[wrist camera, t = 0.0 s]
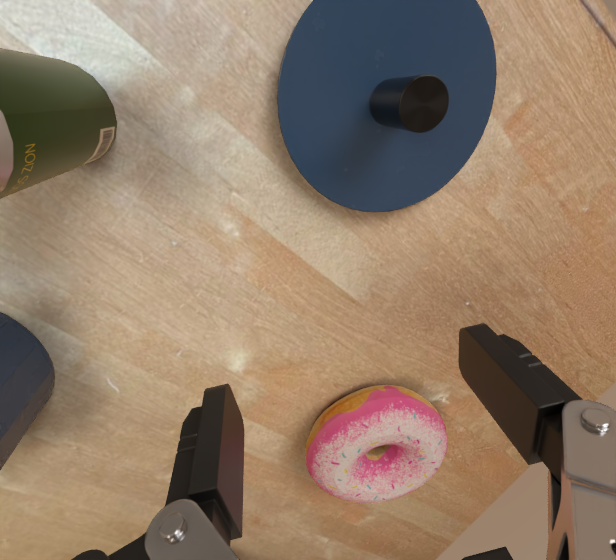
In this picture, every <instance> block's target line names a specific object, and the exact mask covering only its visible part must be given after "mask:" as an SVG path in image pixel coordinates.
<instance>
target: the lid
mask: <svg viewBox="0 0 616 560" xmlns="http://www.w3.org/2000/svg"><path fill="white" fill-rule="evenodd" d="M495 86H496V56H495V50H494V43H493V39H492V35H491V32H490V28H489V25H488V23H487V21H486V18H485V16H484V14H483V11H482V10H481V8H480V6H479V5H478V3H477V1H476V0H313V1H312V3H311V4H310V5H309V6H308V8H307V9H306V10H305V12H304V13H303V15H302V16H301V18H300V20H299V21H298V23H297V25H296V27H295V28H294V30H293V32H292V34H291V37H290V39H289V41H288V44H287V46H286V49H285V52H284V56H283V59H282V63H281V67H280V73H279V79H278V91H277V105H278V117H279V123H280V128H281V133H282V136H283V139H284V142H285V145H286V148H287V150H288V152H289V154H290V156H291V159H292V160H293V162H294V164H295V165H296V167H297V168H298V170H299V172H300V173H301V174H302V175H303V177H304V178H305V179H306V180H307V182H308V183H309V184H310V185H311V186H313V187H314V188H315V189H316V190H317V191H318V192H319V193H321V194H322V195H323V196H325V197H326V198H328V199H329V200H331V201H333V202H335V203H337V204H339V205H341V206H344V207H347V208H350V209H354V210H359V211H365V212H385V211H392V210H397V209H401V208H404V207H407V206H410V205H413V204H415V203H417V202H420V201H422V200H424V199H426V198H427V197H429V196H430V195H432V194H434V193H435V192H437V191H438V190H439V189H440V188H442V187H443V186H444V185H446V184H447V183H448V182H449V181H450V180H451V179H452V178H453V177H454V176H455V175H456V174H457V173H458V172H459V171H460V169H461V168H462V167H463V166H464V164H465V163H466V162H467V161H468V159H469V158H470V156H471V155H472V153H473V152H474V150H475V148H476V146H477V144H478V143H479V141H480V139H481V137H482V135H483V132H484V130H485V127H486V125H487V122H488V119H489V116H490V112H491V109H492V105H493V100H494V94H495Z"/></svg>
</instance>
